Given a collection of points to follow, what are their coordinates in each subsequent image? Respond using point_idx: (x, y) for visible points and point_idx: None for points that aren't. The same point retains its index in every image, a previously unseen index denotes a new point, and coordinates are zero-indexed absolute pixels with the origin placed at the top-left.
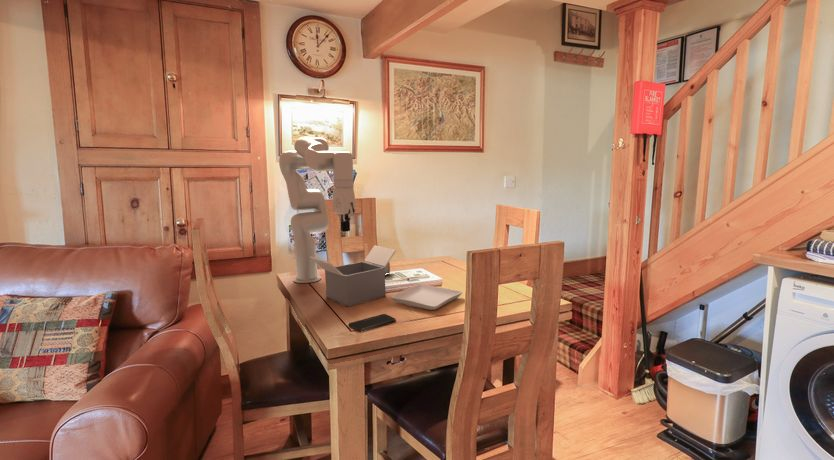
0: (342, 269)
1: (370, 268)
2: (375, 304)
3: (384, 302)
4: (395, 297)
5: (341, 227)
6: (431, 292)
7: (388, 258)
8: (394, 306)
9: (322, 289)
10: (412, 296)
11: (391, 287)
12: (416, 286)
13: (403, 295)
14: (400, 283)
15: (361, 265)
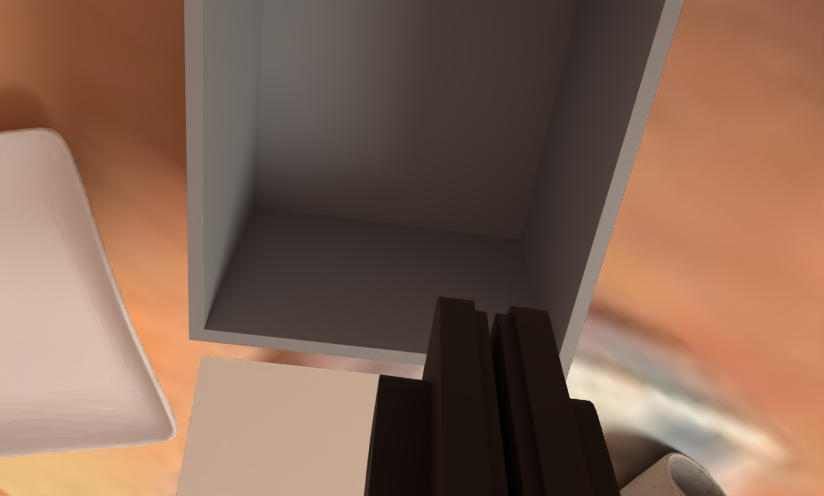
0: (608, 142)
1: (411, 326)
2: (147, 43)
3: (140, 116)
4: (70, 179)
5: (521, 365)
6: (63, 403)
7: (203, 450)
8: (12, 98)
9: (817, 36)
10: (77, 291)
11: (382, 361)
12: (162, 405)
13: (91, 251)
14: None
15: None
